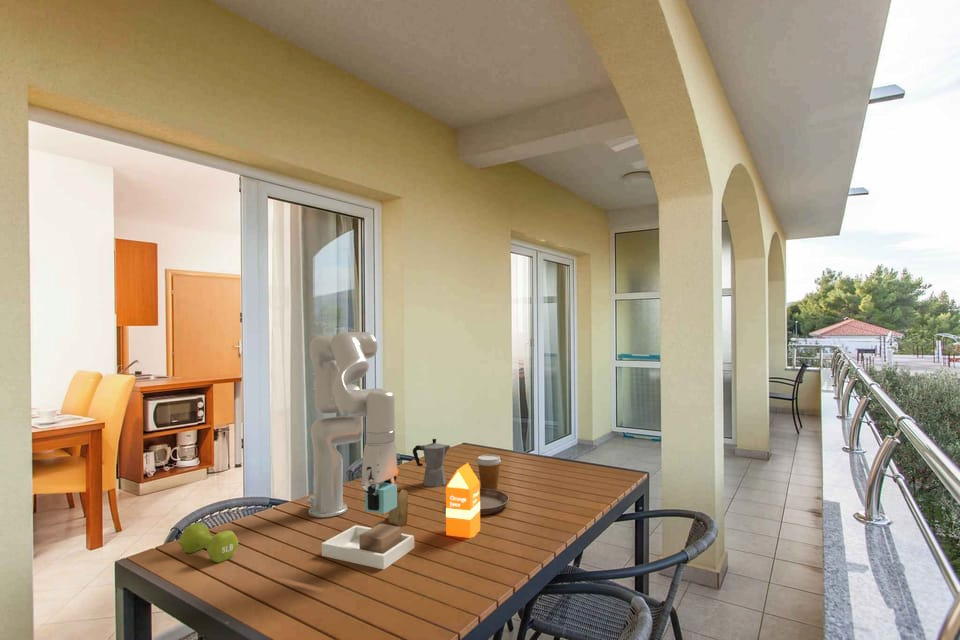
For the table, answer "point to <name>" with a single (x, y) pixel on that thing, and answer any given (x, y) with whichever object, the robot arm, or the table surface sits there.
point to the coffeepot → (432, 463)
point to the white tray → (349, 550)
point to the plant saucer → (492, 501)
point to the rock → (400, 510)
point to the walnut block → (380, 538)
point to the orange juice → (463, 504)
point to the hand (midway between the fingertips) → (381, 505)
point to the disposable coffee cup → (489, 471)
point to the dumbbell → (209, 542)
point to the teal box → (384, 498)
